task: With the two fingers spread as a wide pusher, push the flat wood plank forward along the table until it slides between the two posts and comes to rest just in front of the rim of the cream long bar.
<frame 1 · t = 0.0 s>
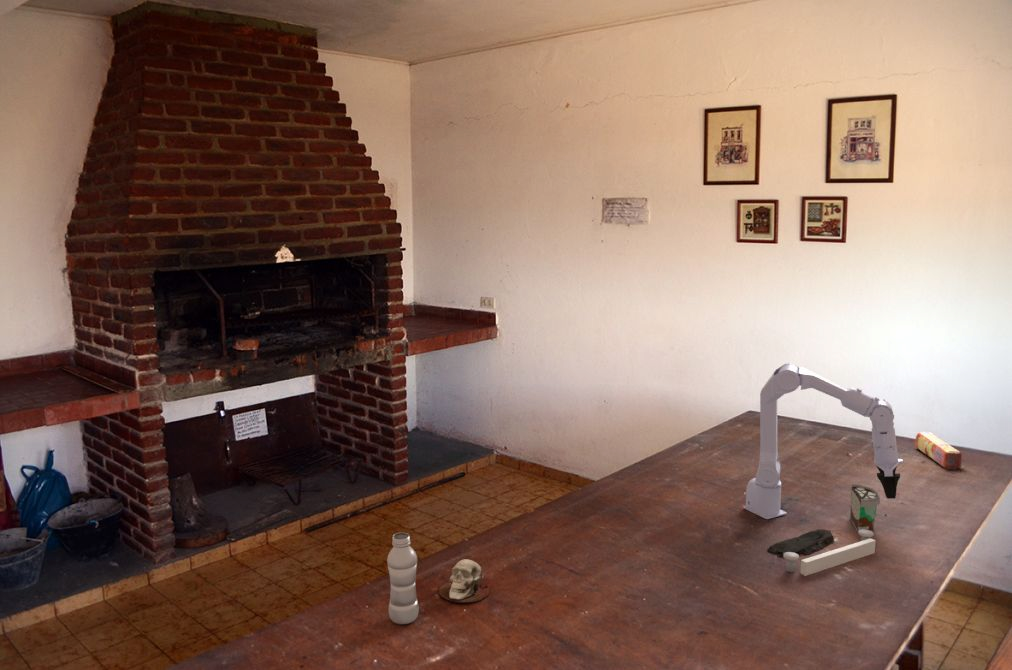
hand: (890, 492, 215), 11 cm above the table, tool pointing down, fingers open, 7 cm apart
food container: (865, 526, 219), on the table
wood: (804, 548, 208), on the table
plastic bottle: (404, 621, 175), on the table
snack package: (937, 459, 272), on the table
skull: (464, 593, 187), on the table
cream long bar: (838, 562, 198), on the table
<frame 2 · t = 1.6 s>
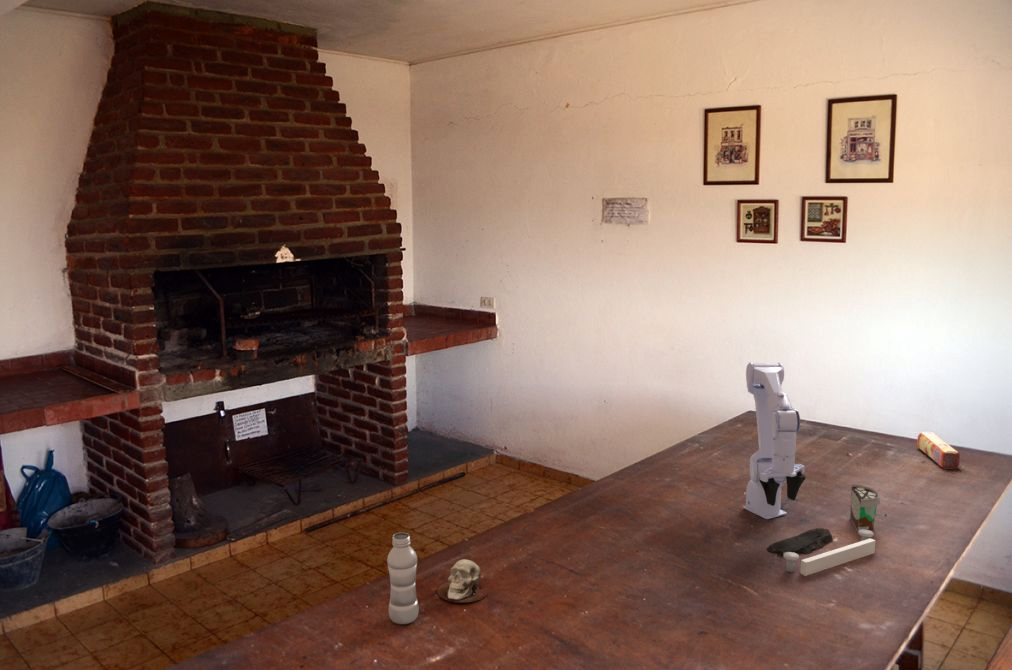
hand: (781, 501, 213), 9 cm above the table, tool pointing down, fingers open, 7 cm apart
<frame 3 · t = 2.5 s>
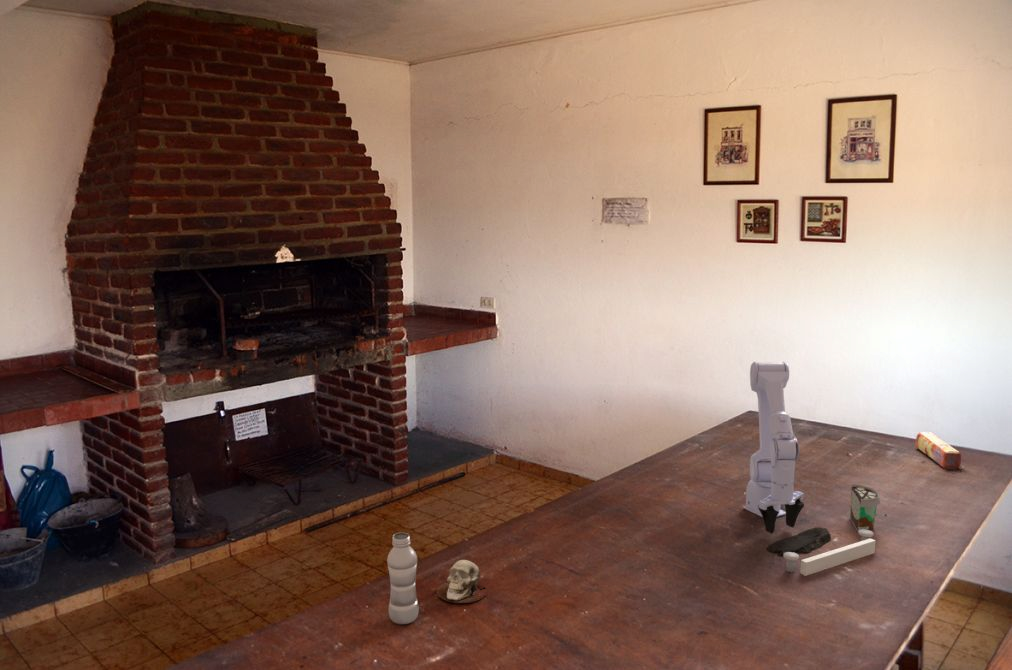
hand: (779, 528, 215), 1 cm above the table, tool pointing down, fingers open, 7 cm apart
nothing on the table moved.
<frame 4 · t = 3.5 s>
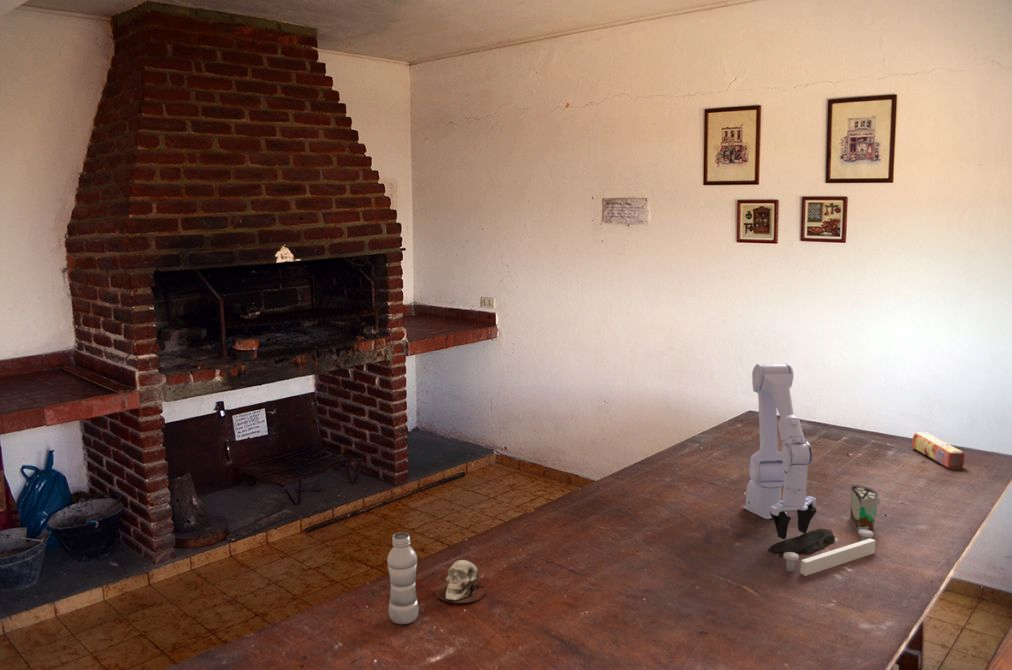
hand: (792, 534, 211), 1 cm above the table, tool pointing down, fingers open, 7 cm apart
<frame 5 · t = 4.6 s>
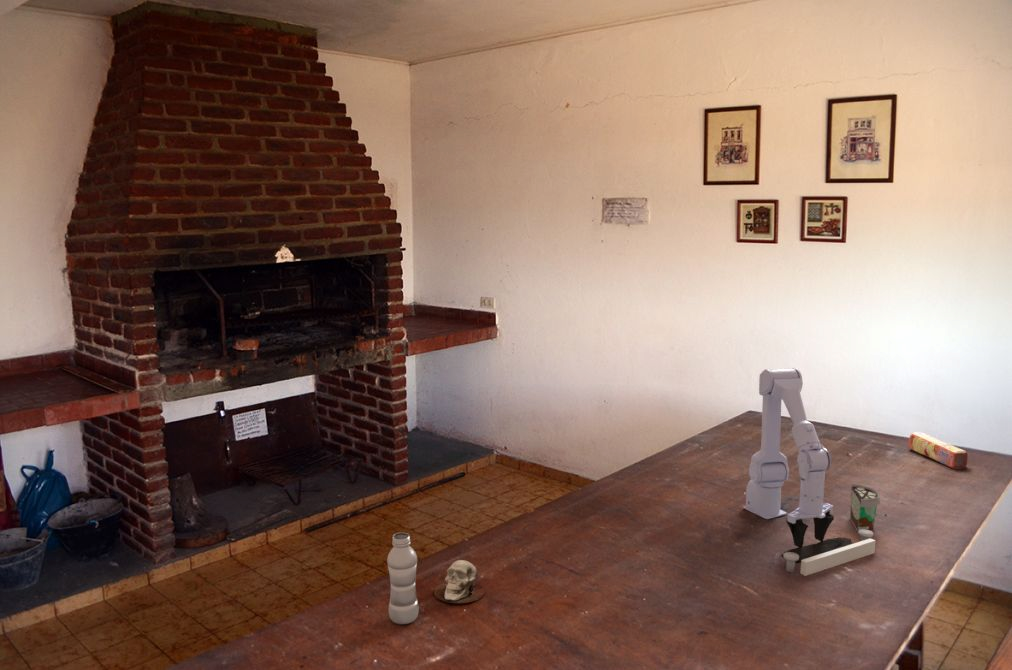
hand: (808, 542, 206), 1 cm above the table, tool pointing down, fingers open, 7 cm apart
wood: (821, 556, 204), on the table, touching gripper
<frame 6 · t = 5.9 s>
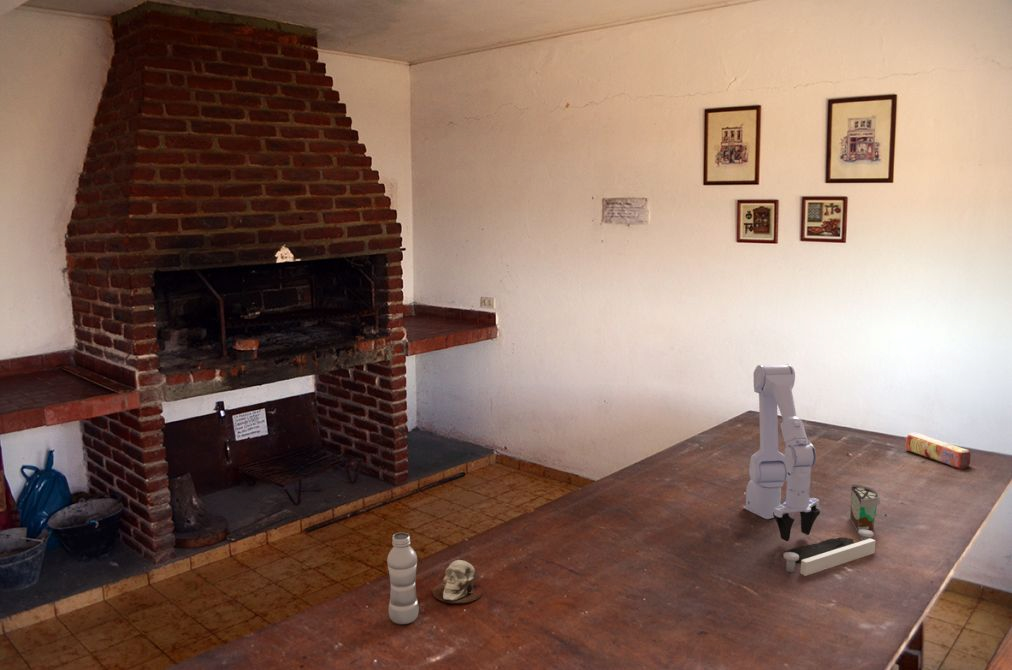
hand: (795, 536, 210), 1 cm above the table, tool pointing down, fingers open, 7 cm apart
wood: (822, 555, 203), on the table
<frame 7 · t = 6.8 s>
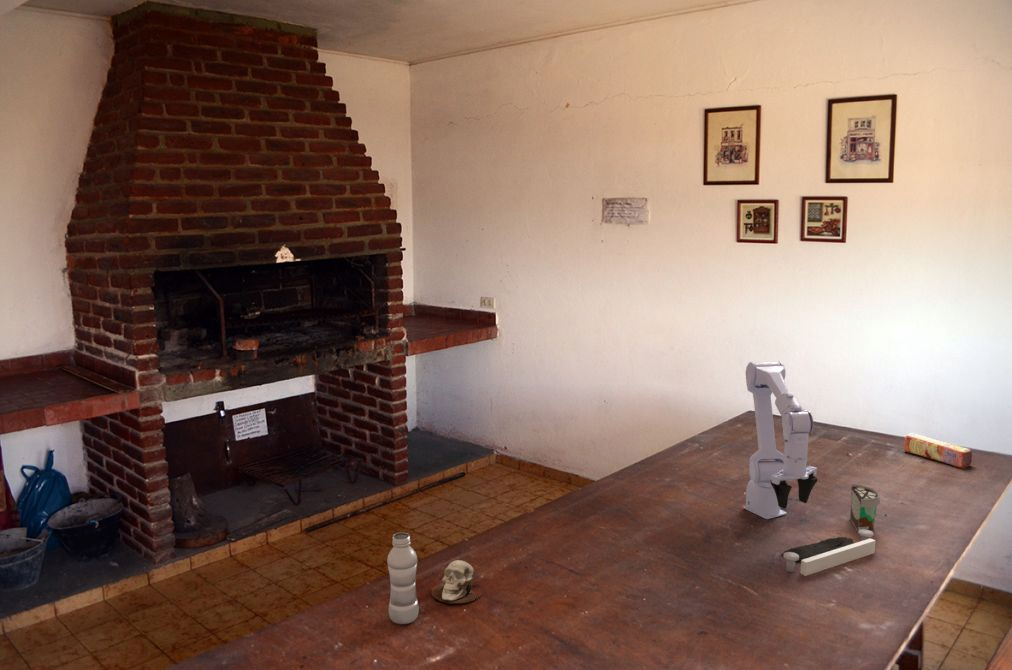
hand: (792, 504, 210), 10 cm above the table, tool pointing down, fingers open, 7 cm apart
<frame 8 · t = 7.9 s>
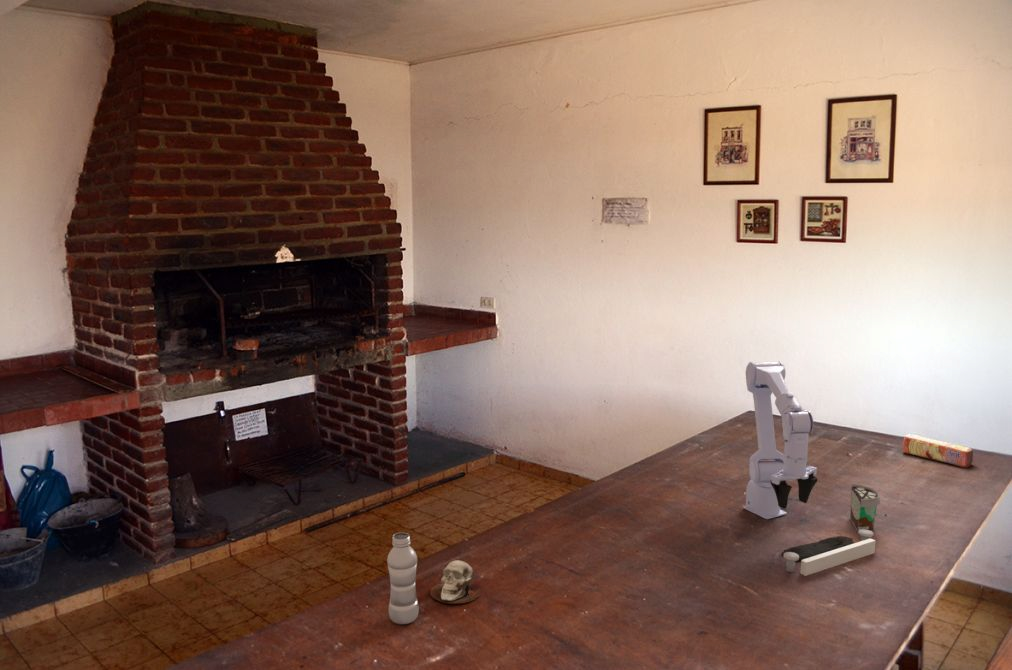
hand: (792, 504, 210), 10 cm above the table, tool pointing down, fingers open, 7 cm apart
at the end: wood 1.2 cm from the target spot on the cream long bar, point -0.6 cm above the cream long bar's base; wood moved 4.7 cm from its start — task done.
